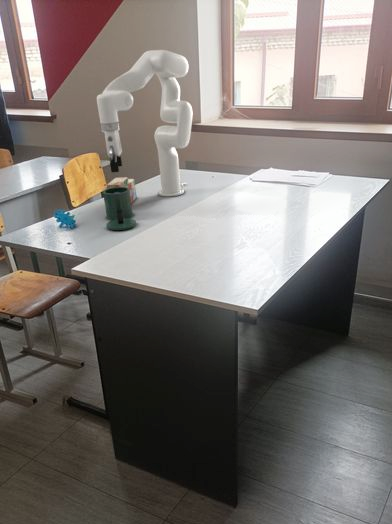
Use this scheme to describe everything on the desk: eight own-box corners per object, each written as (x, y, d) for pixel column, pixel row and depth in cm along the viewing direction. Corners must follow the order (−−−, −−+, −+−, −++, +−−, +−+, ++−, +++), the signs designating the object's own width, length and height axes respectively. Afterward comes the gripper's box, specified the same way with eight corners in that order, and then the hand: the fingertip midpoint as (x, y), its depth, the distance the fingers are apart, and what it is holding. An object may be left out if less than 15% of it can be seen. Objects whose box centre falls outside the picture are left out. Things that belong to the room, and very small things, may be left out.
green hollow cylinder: (122, 211, 234) (119, 185, 228) (138, 215, 227) (134, 189, 221) (101, 217, 228) (97, 191, 222) (117, 222, 220) (113, 195, 214)
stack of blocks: (125, 198, 253) (121, 172, 246) (137, 198, 252) (133, 172, 245) (110, 211, 235) (106, 184, 229) (123, 211, 234) (119, 184, 228)
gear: (65, 228, 212) (50, 209, 212) (58, 237, 215) (44, 218, 216) (82, 224, 220) (69, 206, 221) (76, 232, 224) (63, 214, 224)
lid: (124, 219, 223) (122, 205, 219) (142, 225, 215) (140, 210, 211) (100, 227, 216) (98, 212, 212) (118, 233, 208) (116, 217, 204)
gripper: (116, 130, 203) (122, 173, 212) (122, 122, 218) (127, 163, 227) (97, 131, 203) (105, 174, 213) (104, 123, 218) (111, 164, 227)
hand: (116, 169), depth 220 cm, fingers open, 9 cm apart
